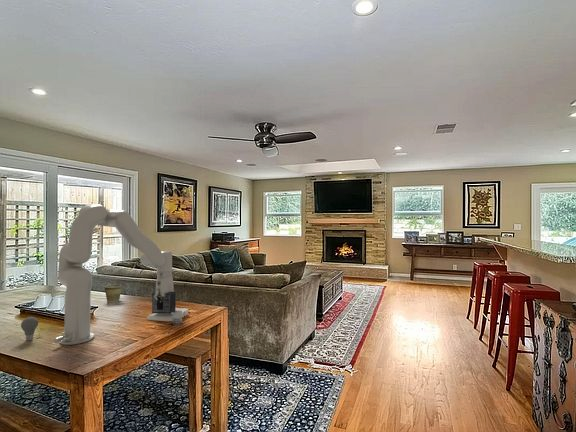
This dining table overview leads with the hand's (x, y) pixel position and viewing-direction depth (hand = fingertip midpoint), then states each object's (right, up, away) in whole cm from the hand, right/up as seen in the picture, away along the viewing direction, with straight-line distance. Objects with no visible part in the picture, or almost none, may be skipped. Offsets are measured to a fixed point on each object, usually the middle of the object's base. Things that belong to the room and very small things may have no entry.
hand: (164, 307), depth 174 cm
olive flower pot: (-46, -6, +36) cm, 59 cm away
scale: (+2, -6, +4) cm, 7 cm away
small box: (0, -3, 0) cm, 3 cm away
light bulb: (-46, -5, -32) cm, 57 cm away
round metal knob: (+10, -6, -9) cm, 15 cm away
